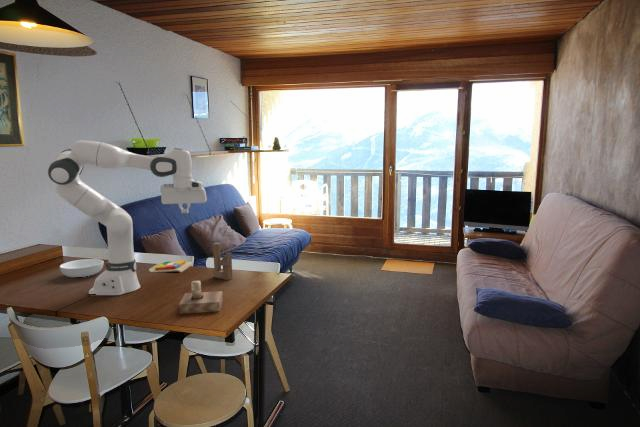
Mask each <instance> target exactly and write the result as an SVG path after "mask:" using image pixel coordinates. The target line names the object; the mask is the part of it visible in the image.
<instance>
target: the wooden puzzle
mask: <svg viewBox="0 0 640 427" xmlns="http://www.w3.org/2000/svg"><path fill="white" fill-rule="evenodd" d="M191 266H193V262H192V261H186V260H176V261H175V260H173V261H165V262H164V261H161V262H159V263H156V265H153V266H152V267H150V268H149V269H148V272H149V273H171V272H179V273H183V272H184V271H185V270H187V269H188V268H190V267H191Z"/></svg>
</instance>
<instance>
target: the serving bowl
mask: <svg viewBox="0 0 640 427" xmlns="http://www.w3.org/2000/svg"><path fill="white" fill-rule="evenodd" d="M104 263H105V262H104V260H103V259H99V258H88V259H87V258H85V259H76V260H71V261H67V262H65V263H64V262H63V263H62V264H60V265H59V270H60V271H61V273H62V274H63V275H65V276H66V277H69V278H75V277H83V278H87V277H86V276H88V277H91V276H94V275H97V274H98V273H99V272H101V271H102V269H103V267H104V265H105V264H104ZM90 275H91V276H90Z"/></svg>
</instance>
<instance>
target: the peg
mask: <svg viewBox="0 0 640 427" xmlns="http://www.w3.org/2000/svg"><path fill="white" fill-rule="evenodd" d="M190 283H191V284H190V285H191V293H192V299H193V300H201V298H202V296H201V292H202V287H201V286H202V283H201V280H193V281H191V282H190Z"/></svg>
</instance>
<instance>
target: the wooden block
mask: <svg viewBox="0 0 640 427" xmlns="http://www.w3.org/2000/svg"><path fill="white" fill-rule="evenodd" d="M212 248H213V249H212V251H213V254H212V255H213V267H214V268H213V270H212V277H213V278H216V279H221V280H227V281H229V280H232V279H233V276H234V275H233V260H232V251H230V252H227V253H225V254H224V256H222V258H221V254H222V253H221V242H214V243H213V244H212Z"/></svg>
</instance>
